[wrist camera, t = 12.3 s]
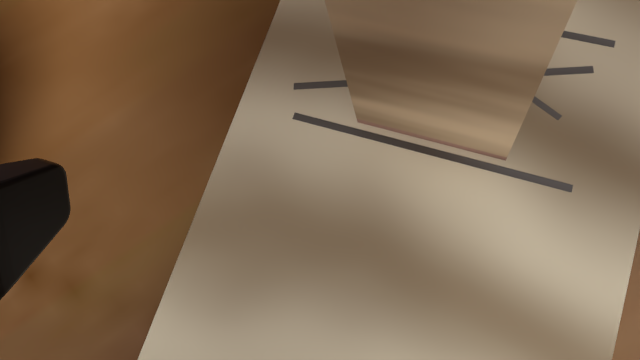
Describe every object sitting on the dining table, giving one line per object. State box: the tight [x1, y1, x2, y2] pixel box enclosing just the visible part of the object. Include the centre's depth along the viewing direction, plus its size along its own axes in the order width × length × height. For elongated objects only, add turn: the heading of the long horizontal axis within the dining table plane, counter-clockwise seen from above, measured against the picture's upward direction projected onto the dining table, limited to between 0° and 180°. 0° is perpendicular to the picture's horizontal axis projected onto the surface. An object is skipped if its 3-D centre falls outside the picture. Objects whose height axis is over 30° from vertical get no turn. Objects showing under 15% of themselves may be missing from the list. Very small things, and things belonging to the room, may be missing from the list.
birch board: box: [138, 0, 640, 360], centre depth 19 cm, size 24×13×1 cm, turn 161°
